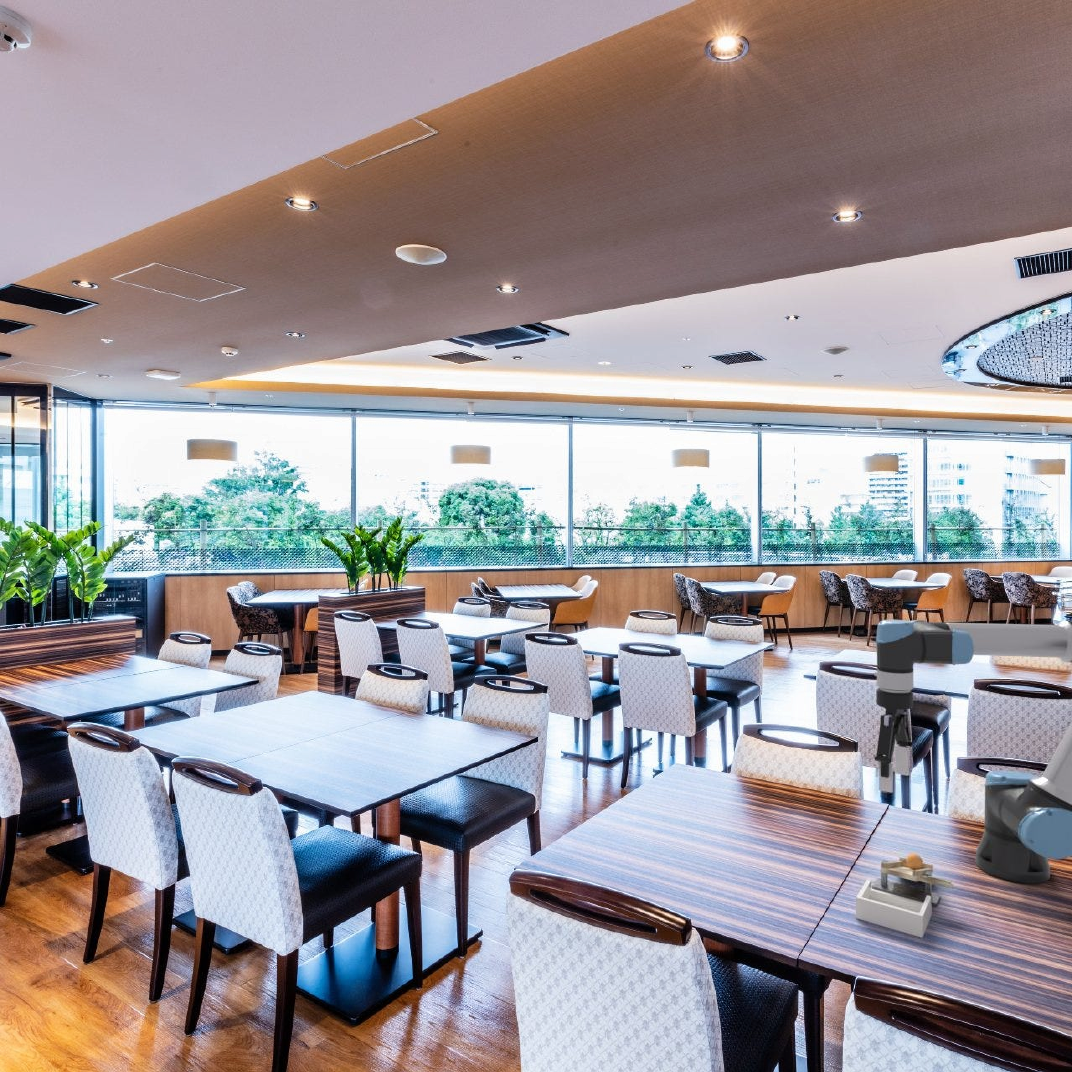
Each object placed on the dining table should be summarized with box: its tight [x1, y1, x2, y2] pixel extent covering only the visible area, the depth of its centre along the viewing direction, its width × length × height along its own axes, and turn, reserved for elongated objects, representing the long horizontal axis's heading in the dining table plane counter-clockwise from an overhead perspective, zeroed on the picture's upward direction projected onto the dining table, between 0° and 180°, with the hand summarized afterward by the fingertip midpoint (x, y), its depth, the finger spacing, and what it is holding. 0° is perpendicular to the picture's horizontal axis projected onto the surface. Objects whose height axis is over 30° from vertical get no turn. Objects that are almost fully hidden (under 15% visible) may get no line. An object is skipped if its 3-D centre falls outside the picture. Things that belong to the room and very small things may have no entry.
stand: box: [871, 859, 941, 907], centre depth 171 cm, size 13×5×6 cm, turn 54°
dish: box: [855, 878, 933, 939], centre depth 161 cm, size 13×11×4 cm
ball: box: [905, 853, 924, 870], centre depth 179 cm, size 4×4×4 cm
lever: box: [880, 856, 954, 890], centre depth 170 cm, size 13×21×3 cm, turn 144°
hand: (894, 782), depth 173 cm, fingers open, 13 cm apart
